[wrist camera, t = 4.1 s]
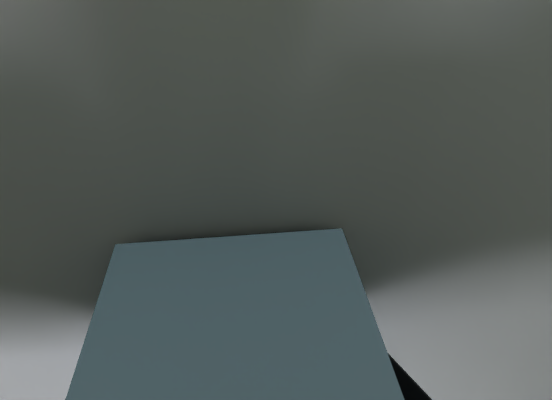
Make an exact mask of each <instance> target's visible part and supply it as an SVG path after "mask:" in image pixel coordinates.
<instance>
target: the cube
mask: <svg viewBox="0 0 552 400" xmlns="http://www.w3.org/2000/svg"><path fill="white" fill-rule="evenodd" d="M66 400H404V397H403V394H402V392H401V389H400V386H399V383H398V381H397V378H396V375H395V372H394V370H393V367H392V364H391V361H390V359H389V356H388V353H387V350H386V348H385V345H384V342H383V339H382V337H381V334H380V331H379V328H378V326H377V323H376V320H375V317H374V315H373V312H372V309H371V307H370V304H369V301H368V298H367V296H366V293H365V290H364V287H363V285H362V282H361V279H360V276H359V274H358V271H357V268H356V265H355V263H354V260H353V257H352V254H351V252H350V249H349V246H348V243H347V241H346V238H345V235H344V232H343V230H342V228H341V229H327V230H313V231H298V232H284V233H270V234H255V235H241V236H226V237H212V238H198V239H183V240H169V241H155V242H140V243H126V244H115V247H114V250H113V254H112V257H111V260H110V263H109V266H108V269H107V272H106V275H105V278H104V282H103V285H102V288H101V291H100V294H99V297H98V300H97V303H96V306H95V310H94V313H93V316H92V319H91V322H90V325H89V328H88V331H87V335H86V338H85V341H84V344H83V347H82V350H81V353H80V356H79V359H78V363H77V366H76V369H75V372H74V375H73V378H72V381H71V384H70V387H69V391H68V394H67V397H66Z"/></svg>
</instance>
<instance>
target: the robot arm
mask: <svg viewBox="0 0 552 400" xmlns="http://www.w3.org/2000/svg"><path fill="white" fill-rule="evenodd" d="M388 356H389V359H390V361H391V364H392V367H393V370H394V372H395V375H396V378H397V381H398V383H399V386H400V389H401V392H402V394H403V397H404V400H432V399H431V398H430V397H429V396H428V395H427V394H426V393H425V392H424V391H423V390H422V389H421V388H420V386H419V385H418V384H417V383H416V382H415V381H414V380H413V379H412V378H411V377H410V376H409V375H408V374H407V373H406V372H405V371H404V370H403V369H402V367H401V366H400V365H399V364H398V363H397V362H396V361H395V360H394V359H393V358H392V357H391V356H390V355H389V354H388ZM65 400H66V399H65Z"/></svg>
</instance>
